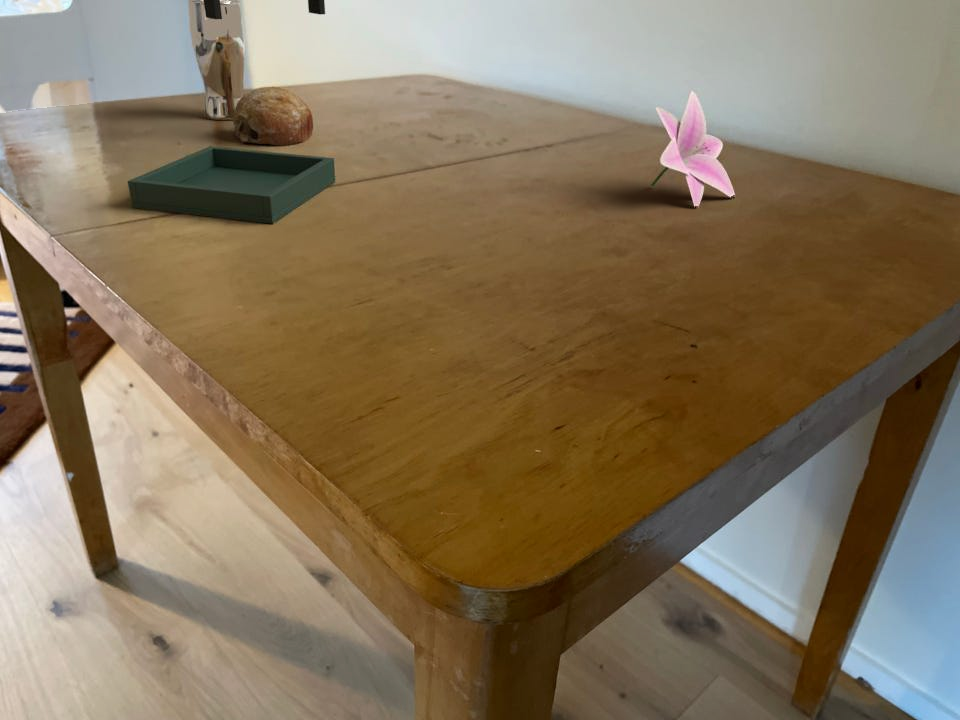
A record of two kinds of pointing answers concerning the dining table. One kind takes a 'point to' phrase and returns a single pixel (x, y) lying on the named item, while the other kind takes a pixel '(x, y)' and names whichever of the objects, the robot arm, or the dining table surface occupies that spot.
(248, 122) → the bread roll
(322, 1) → the robot arm
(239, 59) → the beer glass
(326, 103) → the dining table surface
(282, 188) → the dark green square tray
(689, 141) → the lily
